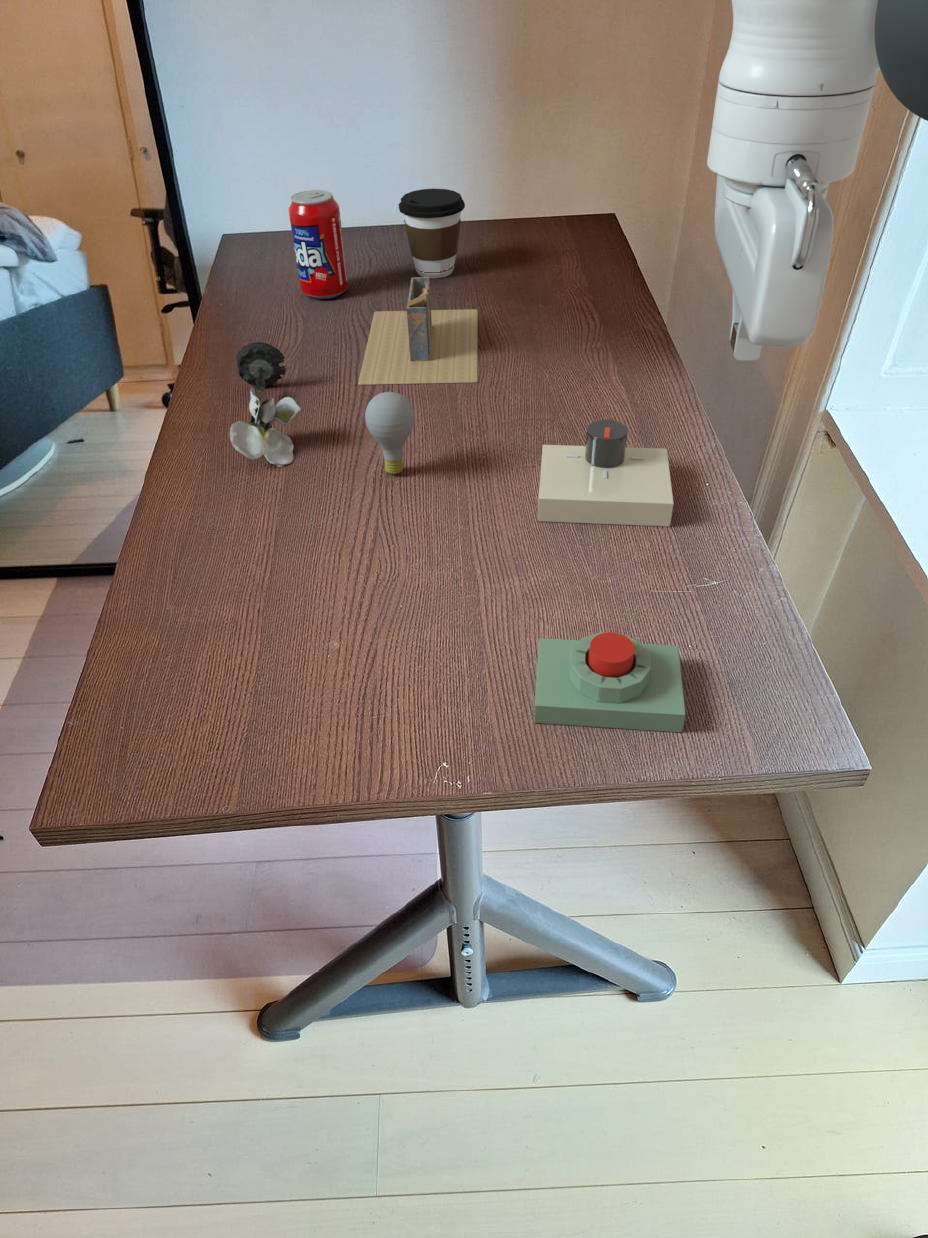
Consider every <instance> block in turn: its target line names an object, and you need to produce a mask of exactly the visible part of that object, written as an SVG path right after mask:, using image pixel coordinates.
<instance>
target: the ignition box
mask: <svg viewBox="0 0 928 1238" xmlns="http://www.w3.org/2000/svg"><path fill="white" fill-rule="evenodd" d="M602 633H606V631H604V632H603V631H600V632H599V631H598V632H595V633H592V634H589V635H585V636H584V637H581V638H580V639H564V638H563V639H562V638H546V637H545V638H543V637H539V638H538V648H537V665H536V677H535V678H536V680H535V696H534V709H533V710H534V711H533V713H534V715H533V723H534V724H546V725H561V726H576V727H592V728H606V729H608V728H609V729H621V730H623V729H624V730H637V731H639V730H640V731H653V732H668V733H670V732H671V733H682V732H683V729H684V724H685V719H686V706H685V697H684V688H683V680H682V679H683V678H682V670H681V661H680V651H679V646H678V645H672V644H657V643H655V644H652V643H641V642H640V641H639V640H637V639H634V638H633V637H630V636H628V635H625V634H624V633H620V632H618V633H619V634H622V635H624V636H626V637H627V638H629V639H630V640H631V641H632V643H633V645H634V649H635V650H634V657H633V664H632V668H631V670H630V671H629V672H628V673H627V674H625V675H624V676H621V677H617V678H613V677H604V676H601V675H599V674H597V673H595V672H594V671H593V670H592V669H591V667H590V666H589V662H588V659H589V649H590V642H591V641H592V639H593V638H594V637H595V636H597V635H599V634H602Z"/></svg>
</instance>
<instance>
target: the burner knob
mask: <svg viewBox="0 0 928 1238" xmlns="http://www.w3.org/2000/svg"><path fill="white" fill-rule="evenodd" d="M628 432H629V431H628V427H627V426H626V425H625V424H624V423H622V422H620V421H617V420H613V419H600V420H595V421H593V422H591V423H589V425H587V427H586V437H585V446H586V448H585V459H586V461H587V462H588V463H590V464H591V465H594V466H596V467H601V468H611V467H616V466H618V465H620V464H622V463H623V461H624V459H625V451H626V447H627V441H628Z"/></svg>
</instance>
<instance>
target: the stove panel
mask: <svg viewBox="0 0 928 1238" xmlns="http://www.w3.org/2000/svg"><path fill="white" fill-rule="evenodd" d="M541 447H542V448H541V460H540V461H541V462H540V473H539V485H538V486H539V487H538V498H537V499H538V500H537V501H538V502H537V522H541V523H542V522H545V523H569V524H592V525H594V524H595V525H614V526H615V525H619V526H641V527H667V528H670V527H671V524H672V518H673V517H672V516H673V511H674V505H675V503H674V494H673V487H672V478H671V471H670V464H669V455H668V449H667V448H666V447H665V448H663V447H661V448H660V447H632V446H626V451H625V459H624V461H623V463H622V464H620V465H618V466H616V467H611V468H601V467H596V466H594V465H591V464H590V463H588V462H587V461H586V459H585V448H586V445H571V444H570V445H567V444H566V445H564V444H542V446H541Z"/></svg>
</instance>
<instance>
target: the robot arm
mask: <svg viewBox="0 0 928 1238" xmlns="http://www.w3.org/2000/svg"><path fill="white" fill-rule="evenodd" d="M731 9H732V30H731V37H730V42H729V45H728V49H727V52H726V54H725V57H724V60H723V62H722V64H721V67H720V69H719V74H718V81H717V88H716V95H715V101H714V109H713V117H712V124H711V125H712V126H711V132H710V138H709V145H708V151H707V152H708V153H707V160H706V165H707V168H708V169H709V170H710V171H711V172H712V173H714V174H715V175H716V185H715V187H716V189H715V203H714V237H715V242H716V244H717V248H718V250H719V253H720V256H721V259H722V262H723V265H724V268H725V271H726V273H727V277H728V280H729V283H730V286H731V289H732V303H731V305H732V307H731V308H732V309H731V310H732V311H731V312H732V313H731V325H730V331H729V336H728V337H729V338H728V339H729V344H730V346H731V349H732V353H733V356H734V357H733V358H734V359H735V360H737V361H738V362H755V361H757V360H758V359H760V357H761V354H762V350H763V346H767V347H768V346H769V347H770V346H771V347H797V346H799V347H800V346H804V345H806V344H807V343H808V342H809V341H810V339H811V337H812V336H813V334H814V333H815V329H816V328H817V323H818V320H819V315H820V310H821V307H822V300H823V296H824V291H825V286H826V280H827V275H828V271H829V265H830V258H831V255H832V247H833V239H834V228H835V220H834V218H835V217H834V213H833V210H832V208H831V206H830V205H829V203H828V202H827V200H826V198H827V195H828V191H829V186H830V183H831V184H832V183H835V182H838V181H841V180H844V179H845V178H848V177H849V176H850V175H852V173H854V171H855V169H856V165H857V160H858V156H859V153H860V148H861V144H862V140H863V136H864V133H865V128H866V124H867V120H868V116H869V112H870V107H871V104H872V101H873V100H872V98H873V96H874V92H875V87H876V83H877V80H878V74H879V72H881V76H882V77H883V79H884V81H885V83H886V86H887V87H888V88H889V90H890V91H891V93H892V94H893V96H894V97H895V98H896V99H897V100H898V101H899V103H900V104H901V105H902V106H903V107H904V108H906V109H907V110H908V111H909V112H911V113H912V114H914V115H915V116H917V117H919V118H921V119H922V120H925V121H926V122H928V0H731Z"/></svg>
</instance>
